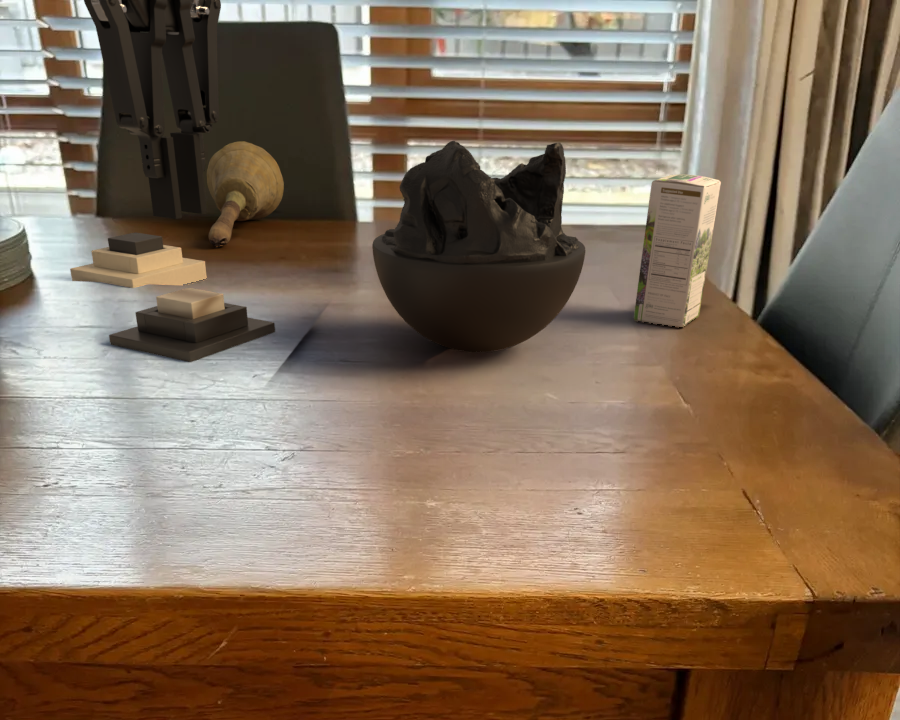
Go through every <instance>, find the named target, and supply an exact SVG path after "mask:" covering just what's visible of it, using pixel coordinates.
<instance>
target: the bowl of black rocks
mask: <svg viewBox="0 0 900 720" xmlns="http://www.w3.org/2000/svg"><path fill="white" fill-rule="evenodd" d="M566 176H567V164H566V156H565V150H564V145H563V144H562V143H561V142H554V143H550V144H546V147H545V150H544V153H542V154H539V155H537V156H534V157H530V158H529V160H528V162H527V163H526V164H524V163H523V162H521V163H519V164H518V165H517V166H516V167H514V168H513V169H512V170H510V172H509V173H508V174H506V175H504V177H501V178H499V177H492V176H489V174H487V173H486V172H485V171H484V170H482V169H481V165H480V164H479V163H478V162H477V160H476V159H475V157H474V155H473V154H472V152H470V150H469V149H468V148H466V147H465V146H464V145H462V144H461V143H460V142H458V141H456V140H450V141H448V142H447V143H446V144H445V145H444V146H443V147H442V148H441V149H438V150H436V151H434V152H431V153H430V154H429V155H427V156H426V157H425V160H424V162H420V163H418V164H416V165H414V166H412V167H411V168H409V169H408V170H407V171H406V172H405V174H404V176H403V177H402V179H401V183H400V185H399V191H400V193H401V195H402V197H403V206H402V208H401V212H400V214H399V220H398V223H397V224H396V226H395V228H389V229H387V230H385V231H384V233H383V234H380V235H378V236H377V237H375V238H374V239H373V242H372V246H371V249H372V257H373V263H374V267H375V271H376V275H377V277H378V281H379V283H380V285H381V287H382V290H383V292H384V293H385V296H386V298H387V300H388V301H389V303H390V304H391V306H392V307H393V308H394V310H395V312H396V313H397V314H398V316H400V318H401V319H402V320H403V321H404V322H405V323H406V324H407V325H408V326H410V328H412V329H413V331H415V332H417V333H418V334H419V335H421V336H423V337H424V338H425V339H427V340H429V341H431V342H433V343H434V344H437V345H439V346H442V347H445V348H447V349H451V350H454V351H459V352H464V353H492V352H497V351H502V350H506V349H509V348H513V347H515V346H517V345H520V344H522V343H523V342H526V341H528V340H529V339H531V338H533V337H534V336H536V335H538V333H540V332H541V331H542V330H544V329H545V328H547V326H548V325H550V323H552V321H553V320H555V318H556V317H557V316H559V314H560V313H561V311H562V310H563V309H564V308H565V306H566V305H567V303H568V302H569V300H570V297H571V296H572V295H573V292H574V291H575V288H576V286H577V284H578V282H579V279H580V277H581V274H582V270H583V267H584V263H585V257H586V246H585V245H584V243H583V242H582V241H580V240H579V238H577V237H576V236H571V235H567V234H565V232H564V231H563V228H562V224H563V222H562V221H563V219H562V218H563V217H562V212H563V203H564V202H563V201H564V195H565V194H564V193H565V181H566V180H565V178H566Z"/></svg>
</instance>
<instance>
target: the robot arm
mask: <svg viewBox="0 0 900 720" xmlns="http://www.w3.org/2000/svg"><path fill="white" fill-rule="evenodd" d="M83 3H84V5H85V7H86V9H87V12H88V14H89V16H90V18H91V20H92V23H93V24H94V26H95V31H96V36H97V39H98V44H99V48H100V53H101V59H102V62H103V67H104V72H105V75H106V76H105V77H106V80H107V85H108V89H109V90H108V91H109V94H110V95H109V96H110V99H111V104H112V108H113V114H114V118H115V122H116V125H117V126H118V128H120V129H125V130H126V131H127V132H128V133H129V134H130V135H133V136H137V138H138V142H139V149H140V150H139V151H140V157H141V163H142V172H143V174H144V177H145V178H148V185H149V193H150V200H151V208H152V216H153V217H158V218H166V219H173V220H179V219H183V215H182V212H183V213H184V212H185V213H191V214H199V215H204V214H208V207H207V197H206V188H205V187H206V186H205V177H204V172H205V171H206V165H207V163H206V154H205V145H204V143H205V142H204V134H210V133H212V131H213V126H214V125H213V124H217V122H218V121H219V119H220V106H219V105H220V103H219V102H220V100H219V63H218V58H219V57H218V25H219V19H220V14H221V9H222V1H221V0H83ZM163 65H164V69H165V75H166V80H167V86H168V90H169V95H170V101H171V105H172V111H173V115H174V121H175V125H176V128H177V130H179V131H176V132H175V131H173V132H169V136H167V135H166V136H165V104H164V103H165V102H164V101H165V99H164V75H163V74H164V71H163V70H164V69H163Z"/></svg>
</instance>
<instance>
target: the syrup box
mask: <svg viewBox="0 0 900 720" xmlns="http://www.w3.org/2000/svg"><path fill="white" fill-rule="evenodd" d="M721 184H722V181H720V179H715V178H712V177H708V176H704V175H703V176H702V175H698V174H697V175H695V174H685V173H684V174H682V173H681V174H670V175H665V176H663V177H660V178H656V179H654V180H652V181H651V185H650V193H649V199H648V200H649V201H648V208H647V215H646V220H645V221H646V223H645V228H644V229H645V230H644V237H643V245H642V251H641V260H640V268H639V274H638V283H637V290H636V298H635V305H634V313H633V320H634V321H635V322H638V321H642V322H641V323H644V322H649V323H648V324H651V323H653V324H652V325H657V324H662V325H661V326H664V325H668V326H667V327H672V326H675V327H674V328H679V327H683V328H685V327H686V326H687V325H689V324H690V323H692V322H693V321H695V320H696V319H697V318H699V317H700V313H701V306H702V300H703V294H704V289H705V283H706V282H705V281H706V277H707V276H706V275H707V270H708V263H709V258H710V252H711V246H712V240H713V234H714V229H715V227H714V226H715V222H716V215H717V210H718V209H717V208H718V202H719V198H720V197H719V196H720V191H721ZM695 318H696V319H695ZM694 319H695V320H694ZM692 320H693V321H692ZM691 321H692V322H691ZM688 323H689V324H688ZM684 326H685V327H684Z"/></svg>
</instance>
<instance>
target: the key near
mask: <svg viewBox="0 0 900 720" xmlns="http://www.w3.org/2000/svg"><path fill="white" fill-rule="evenodd" d="M155 298H156V306H157V307H158V312H160V313H165V314H170V315H175V316H180V317H185V318H190V319H195V318H198V317H201V316H204V315H208V314H211V313H214V312H217V311H220V310H224V309H225V306H224V303H225V297H224V293H222V292H215V291H210V290H204V289H199V288H194V287H185V288H182V289H179V290H174V291H171V292H169V293H168V292H167V293H164V294H160V295H158V296H156V297H155Z"/></svg>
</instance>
